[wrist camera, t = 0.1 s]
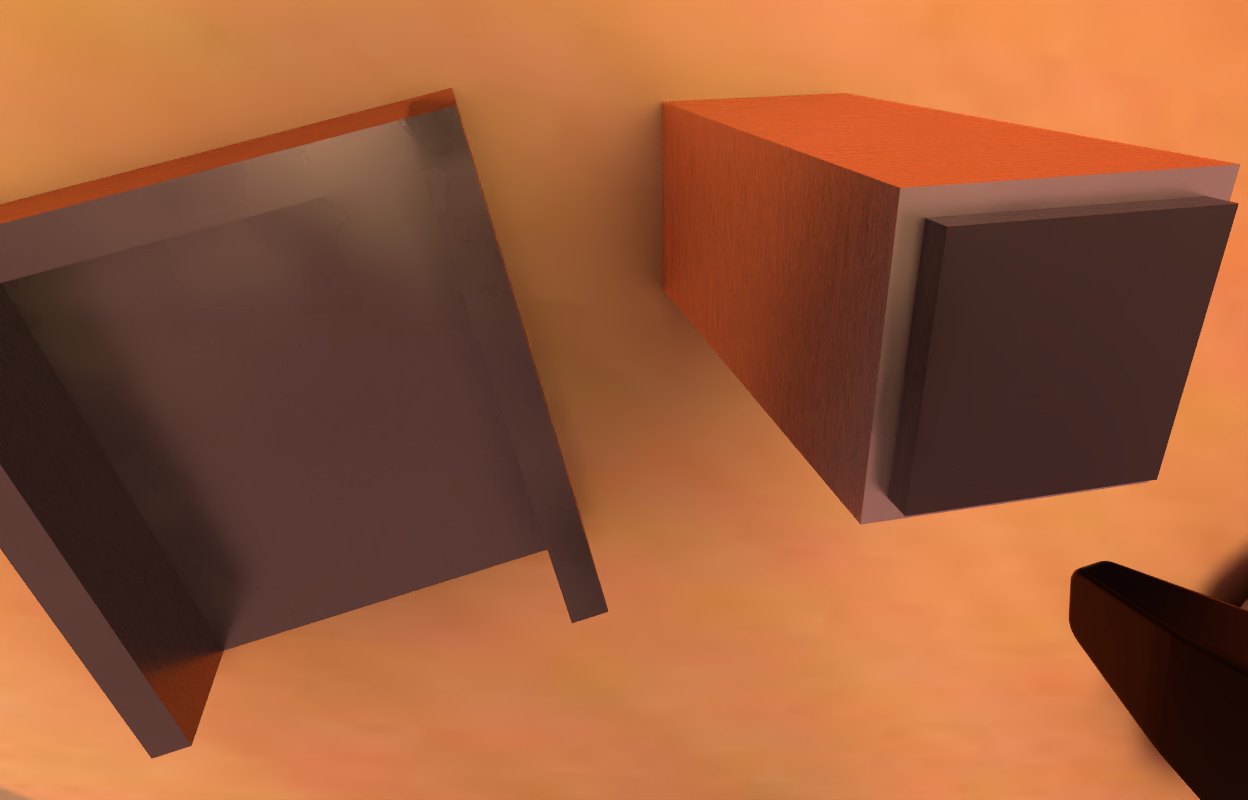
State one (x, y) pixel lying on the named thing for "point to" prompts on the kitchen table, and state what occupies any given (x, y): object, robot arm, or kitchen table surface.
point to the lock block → (943, 291)
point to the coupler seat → (267, 400)
